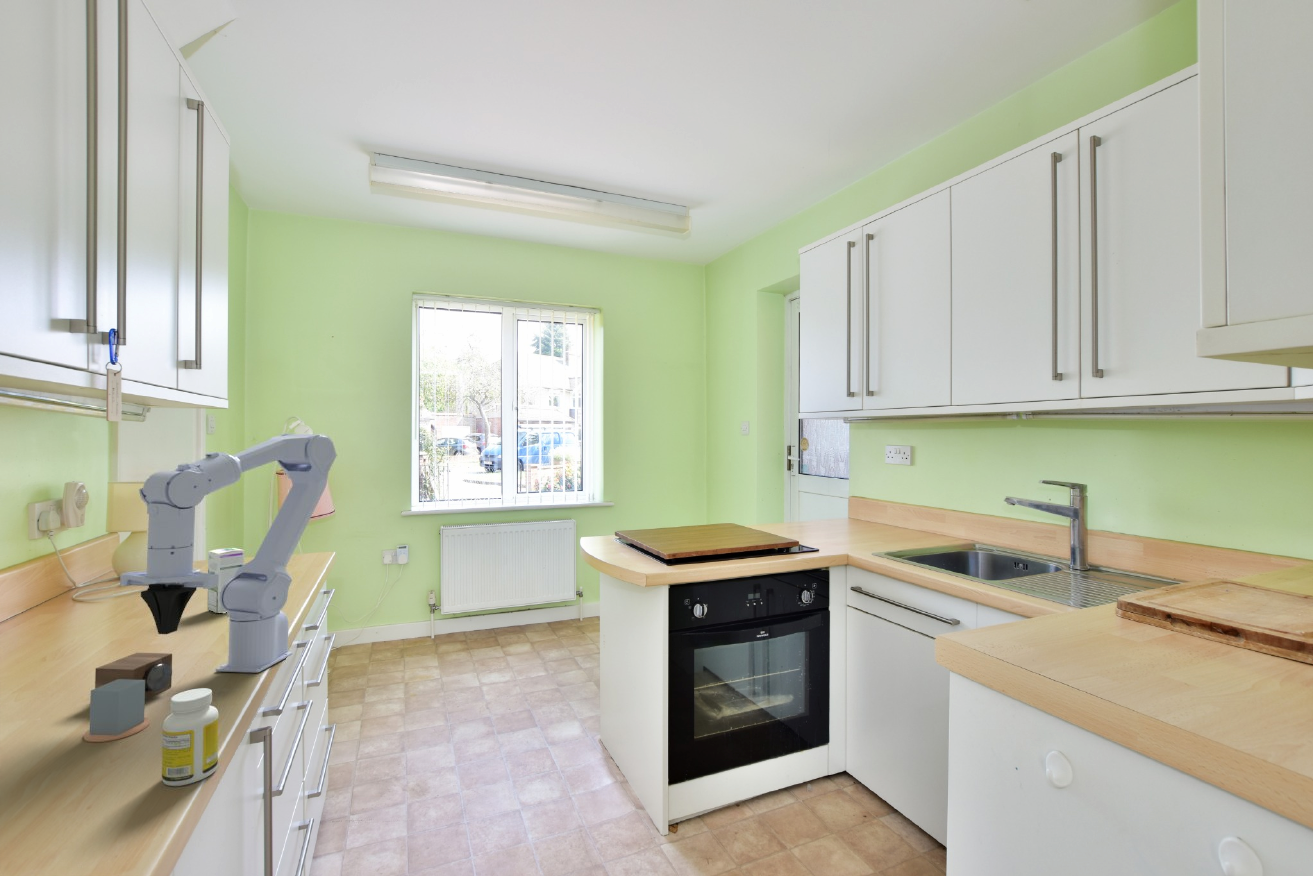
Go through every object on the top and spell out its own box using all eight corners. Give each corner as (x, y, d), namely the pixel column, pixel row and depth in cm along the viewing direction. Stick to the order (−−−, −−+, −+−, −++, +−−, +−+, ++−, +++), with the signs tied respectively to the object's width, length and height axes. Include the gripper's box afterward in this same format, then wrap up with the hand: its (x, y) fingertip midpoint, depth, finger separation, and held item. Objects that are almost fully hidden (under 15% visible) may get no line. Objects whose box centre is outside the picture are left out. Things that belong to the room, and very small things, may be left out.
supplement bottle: (210, 758, 76) (212, 682, 76) (223, 773, 73) (225, 693, 73) (156, 776, 72) (158, 695, 72) (167, 793, 69) (169, 708, 69)
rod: (121, 683, 97) (122, 658, 97) (171, 684, 96) (172, 660, 96) (97, 693, 93) (98, 667, 93) (149, 695, 92) (150, 669, 92)
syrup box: (244, 609, 143) (246, 549, 143) (216, 615, 138) (218, 552, 138) (233, 605, 146) (235, 546, 146) (205, 611, 141) (207, 550, 141)
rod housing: (136, 685, 98) (137, 652, 98) (171, 687, 98) (172, 653, 98) (94, 704, 91) (95, 668, 91) (132, 705, 91) (133, 669, 91)
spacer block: (117, 721, 85) (118, 679, 85) (143, 722, 85) (145, 679, 85) (89, 734, 81) (90, 690, 81) (117, 735, 81) (118, 691, 81)
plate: (117, 718, 87) (117, 716, 87) (161, 719, 86) (162, 717, 86) (69, 741, 80) (69, 739, 80) (117, 743, 80) (117, 741, 80)
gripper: (102, 549, 91) (99, 638, 90) (194, 551, 90) (191, 641, 90) (144, 542, 98) (141, 625, 97) (229, 544, 97) (226, 628, 97)
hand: (167, 632), depth 94 cm, fingers closed
